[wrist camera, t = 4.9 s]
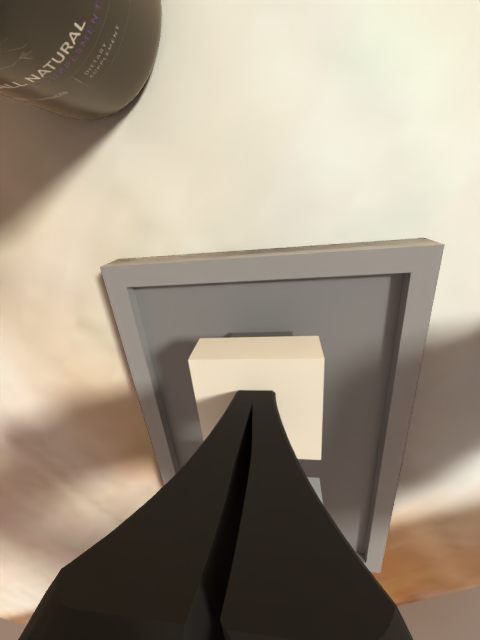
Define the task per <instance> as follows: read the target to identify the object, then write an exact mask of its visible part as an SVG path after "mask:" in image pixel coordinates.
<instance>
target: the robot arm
mask: <svg viewBox="0 0 480 640" xmlns="http://www.w3.org/2000/svg"><path fill="white" fill-rule="evenodd" d="M18 640H413V638H412V636H411V634H410V632H409V630H408V628H407V626H406V624H405V622H404V620H403V618H402V616H401V614H400V612H399V610H398V608H397V606H396V604H395V603H394V602H393V600H392V599H391V598H390V596H389V595H388V594H387V593H386V591H385V590H384V589H383V588H382V586H381V585H380V584H379V583H378V581H377V580H376V579H375V577H374V576H373V575H372V573H371V572H370V571H369V570H368V568H367V567H366V566H365V564H364V563H363V562H362V560H361V559H360V558H359V556H358V555H357V553H356V552H355V551H354V549H353V548H352V546H351V545H350V544H349V542H348V541H347V540H346V538H345V537H344V535H343V534H342V532H341V531H340V529H339V528H338V526H337V525H336V523H335V522H334V520H333V519H332V517H331V516H330V514H329V513H328V511H327V510H326V508H325V507H324V505H323V504H322V502H321V500H320V499H319V497H318V495H317V494H316V492H315V490H314V489H313V487H312V485H311V483H310V482H309V480H308V478H307V476H306V474H305V473H304V471H303V469H302V467H301V465H300V463H299V461H298V459H297V457H296V455H295V452H294V450H293V448H292V446H291V444H290V441H289V439H288V437H287V434H286V431H285V429H284V426H283V424H282V421H281V418H280V414H279V411H278V407H277V403H276V393H275V392H274V391H273V390H239V391H238V392H236V394H235V396H234V398H233V399H232V401H231V403H230V404H229V406H228V408H227V409H226V411H225V412H224V414H223V415H222V417H221V418H220V420H219V421H218V423H217V424H216V426H215V427H214V428H213V430H212V431H211V433H210V434H209V435H208V437H207V438H206V439H205V440H204V442H203V443H202V444H201V445H200V447H199V448H198V449H197V451H196V452H195V453H194V454H193V455H192V457H191V458H190V459H189V460H188V461H187V462H186V463H185V465H184V466H183V467H182V468H181V469H180V470H179V471H178V472H177V473H176V474H175V475H174V476H173V477H172V478H171V479H170V480H169V481H168V482H167V483H166V484H165V485H164V486H163V487H162V488H161V489H160V490H159V491H158V492H157V493H156V494H155V495H154V496H153V497H152V498H151V499H150V500H149V501H147V502H146V503H145V504H144V505H143V506H142V507H141V508H139V509H138V510H137V511H136V512H135V513H134V514H132V515H131V516H130V517H129V518H128V519H126V520H125V521H124V522H123V523H122V524H121V525H119V526H118V527H117V528H116V529H115V530H113V531H112V532H111V533H110V534H108V535H107V536H106V537H104V538H103V539H102V540H100V541H99V542H98V543H96V544H95V545H94V546H92V547H91V548H90V549H88V550H87V551H85V552H84V553H83V554H81V555H80V556H79V557H77V558H76V559H75V560H73V561H72V562H71V563H69V564H68V565H66V566H65V567H63V568H62V569H61V570H60V572H59V573H58V575H57V576H56V578H55V579H54V581H53V582H52V584H51V585H50V587H49V588H48V590H47V591H46V593H45V595H44V596H43V598H42V600H41V601H40V603H39V605H38V606H37V608H36V610H35V612H34V613H33V615H32V617H31V619H30V620H29V622H28V624H27V626H26V627H25V629H24V631H23V633H22V634H21V636H20V638H19V639H18Z"/></svg>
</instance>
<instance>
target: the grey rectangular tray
mask: <svg viewBox="0 0 480 640" xmlns="http://www.w3.org/2000/svg"><path fill="white" fill-rule="evenodd" d="M443 249H444V244H441V243H438V242H435V241H432V240H429V239H426V238H418V239H404V240H389V241H375V242H360V243H346V244H331V245H317V246H302V247H288V248H273V249H259V250H245V251H230V252H216V253H201V254H187V255H172V256H158V257H143V258H129V259H118V260H115V261H113V262H111V263H108V264H106V265H104V266H101V267H100V269H101V273H102V276H103V279H104V283H105V286H106V290H107V293H108V296H109V300H110V303H111V307H112V310H113V313H114V317H115V320H116V324H117V327H118V330H119V334H120V337H121V341H122V344H123V347H124V351H125V354H126V358H127V361H128V364H129V368H130V371H131V375H132V378H133V381H134V385H135V388H136V392H137V395H138V398H139V402H140V405H141V409H142V412H143V415H144V419H145V422H146V426H147V429H148V432H149V436H150V439H151V443H152V446H153V449H154V453H155V456H156V460H157V463H158V467H159V470H160V473H161V477H162V480H163V484H164V485H165V484H166V483H167V482H168V481H169V480H170V479H171V478H172V477H173V476H174V475H175V474H176V473H177V472H178V471H179V470H180V469H181V468H182V467H183V466H184V465H185V463H186V462H187V461H188V460H189V459H190V458H191V457H192V455H193V454H194V453H195V452H196V451H197V449H198V448H199V447H200V445H201V444H202V443H203V442H204V440H203V435H202V430H201V425H200V420H199V414H198V409H197V404H196V399H195V394H194V389H193V383H192V378H191V373H190V368H189V363H188V359H189V357H190V355H191V353H192V352H193V350H194V348H195V346H196V344H197V342H198V341H199V339H200V338H231V336H232V333H250V332H291V331H292V335H293V336H319V340H320V343H321V347H322V351H323V355H324V388H323V418H322V448H321V460H311V459H298V461H299V463H300V465H301V467H302V469H303V471H304V473H305V474H306V476H307V477H313V478H319V479H320V486H321V493H322V501H323V505H324V507H325V508H326V510H327V511H328V513H329V514H330V516H331V517H332V519H333V520H334V522H335V523H336V525H337V526H338V528H339V529H340V531H341V532H342V534H343V535H344V537H345V538H346V540H347V541H348V542H349V544H350V545H351V546H352V548H353V549H354V551H355V552H356V553H357V555H358V556H359V558H360V559H361V560H362V562H363V563H364V564H365V566H366V567H367V568H368V570H369V571H370V572H379V573H380V572H381V567H382V562H383V556H384V551H385V546H386V541H387V536H388V531H389V526H390V521H391V515H392V510H393V505H394V500H395V495H396V490H397V485H398V480H399V474H400V469H401V464H402V459H403V454H404V449H405V444H406V439H407V433H408V428H409V423H410V418H411V413H412V408H413V403H414V398H415V393H416V387H417V382H418V377H419V372H420V367H421V362H422V357H423V352H424V346H425V341H426V336H427V331H428V326H429V321H430V316H431V311H432V305H433V300H434V295H435V290H436V285H437V280H438V275H439V270H440V264H441V259H442V254H443Z"/></svg>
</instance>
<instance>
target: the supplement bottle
mask: <svg viewBox="0 0 480 640" xmlns="http://www.w3.org/2000/svg"><path fill="white" fill-rule="evenodd" d="M161 16H162V13H161V0H0V94H2V95H5V96H8V97H11V98H13V99H16V100H19V101H22V102H24V103H27V104H30V105H33V106H35V107H38V108H41V109H44V110H47V111H50V112H53V113H56V114H59V115H62V116H66V117H69V118H75V119H82V120H91V119H99V118H103V117H107V116H109V115H112V114H114V113H116V112H118V111H120V110H121V109H123V108H124V107H126V106H127V105H128V104H129V103H130V102H131V101H132V100H133V99H134V98H135V97H136V96H137V95H138V93H139V92H140V91H141V89H142V88H143V86H144V85H145V83H146V81H147V79H148V77H149V75H150V73H151V71H152V68H153V65H154V62H155V59H156V55H157V52H158V47H159V41H160V33H161Z"/></svg>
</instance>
